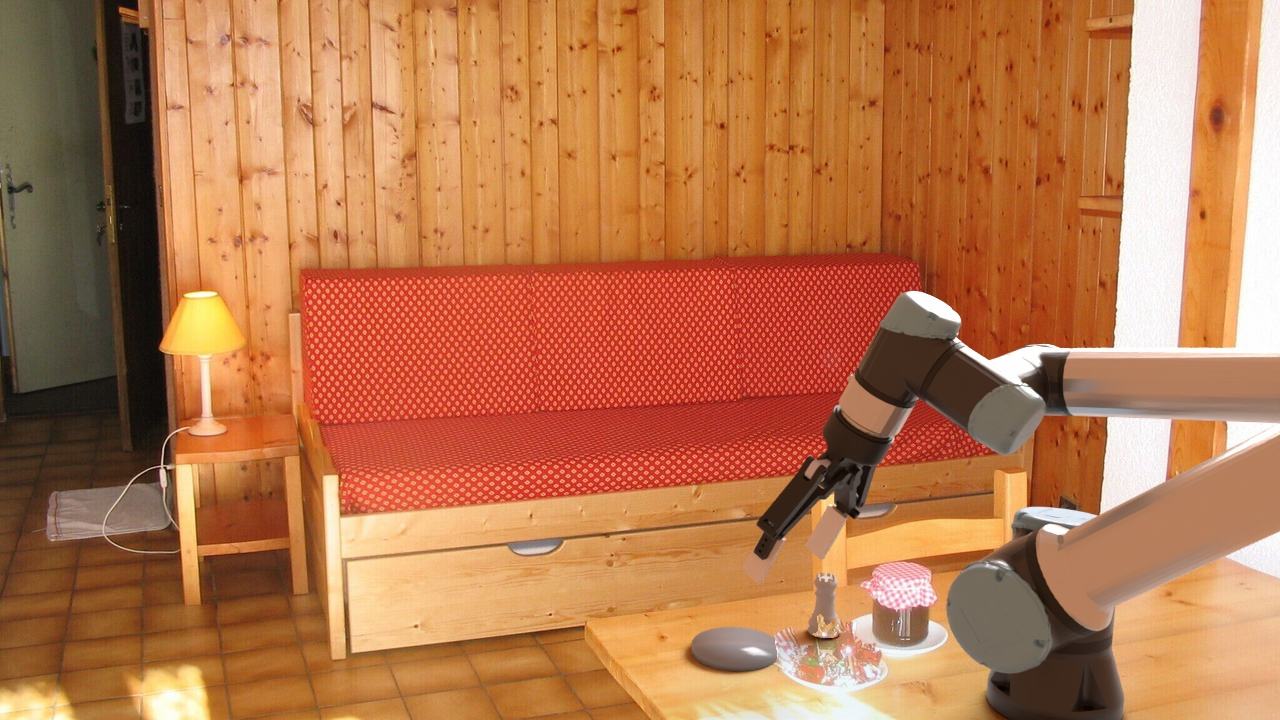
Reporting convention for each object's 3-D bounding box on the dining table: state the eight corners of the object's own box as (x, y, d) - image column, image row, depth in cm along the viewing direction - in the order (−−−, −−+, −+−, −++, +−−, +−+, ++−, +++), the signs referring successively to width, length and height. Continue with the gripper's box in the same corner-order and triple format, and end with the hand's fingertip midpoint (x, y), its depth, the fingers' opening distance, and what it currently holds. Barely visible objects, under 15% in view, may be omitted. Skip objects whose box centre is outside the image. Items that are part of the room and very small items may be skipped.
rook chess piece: (818, 624, 171) (820, 567, 170) (847, 632, 168) (849, 575, 167) (800, 634, 168) (802, 576, 166) (830, 643, 165) (832, 584, 163)
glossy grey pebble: (792, 647, 163) (793, 638, 163) (754, 678, 154) (754, 669, 154) (717, 629, 169) (717, 620, 169) (675, 658, 160) (675, 649, 160)
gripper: (894, 389, 154) (816, 524, 162) (781, 413, 135) (699, 565, 143) (943, 425, 150) (860, 562, 159) (833, 455, 131) (746, 609, 140)
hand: (784, 564), depth 151 cm, fingers open, 13 cm apart
